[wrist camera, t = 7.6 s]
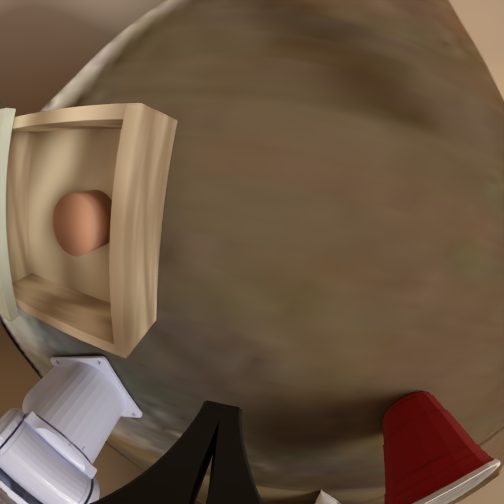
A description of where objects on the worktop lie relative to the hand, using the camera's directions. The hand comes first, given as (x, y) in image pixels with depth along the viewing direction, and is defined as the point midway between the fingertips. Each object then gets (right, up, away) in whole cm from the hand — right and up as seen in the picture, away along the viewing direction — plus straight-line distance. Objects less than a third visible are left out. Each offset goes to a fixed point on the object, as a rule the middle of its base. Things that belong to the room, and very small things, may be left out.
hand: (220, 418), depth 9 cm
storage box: (-12, +9, +8) cm, 17 cm away
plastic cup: (+17, -9, +11) cm, 22 cm away
